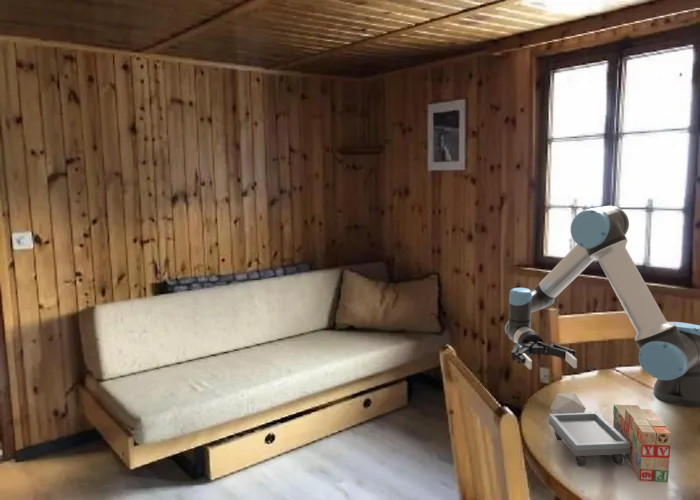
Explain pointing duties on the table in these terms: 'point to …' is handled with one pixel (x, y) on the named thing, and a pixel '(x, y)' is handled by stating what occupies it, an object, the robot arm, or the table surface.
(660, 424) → the stack of blocks
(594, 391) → the table surface
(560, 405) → the die
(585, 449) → the trolley
